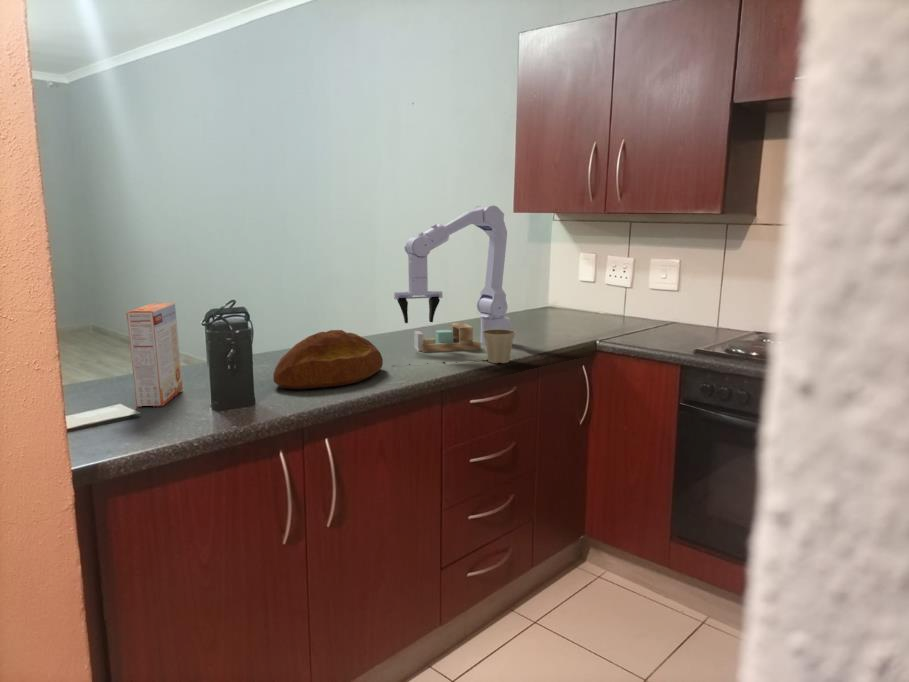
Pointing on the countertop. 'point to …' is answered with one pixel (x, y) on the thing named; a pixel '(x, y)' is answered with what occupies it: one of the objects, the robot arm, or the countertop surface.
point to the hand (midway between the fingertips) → (418, 322)
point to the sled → (418, 340)
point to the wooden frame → (454, 340)
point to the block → (443, 336)
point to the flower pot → (498, 344)
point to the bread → (328, 361)
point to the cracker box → (154, 353)
